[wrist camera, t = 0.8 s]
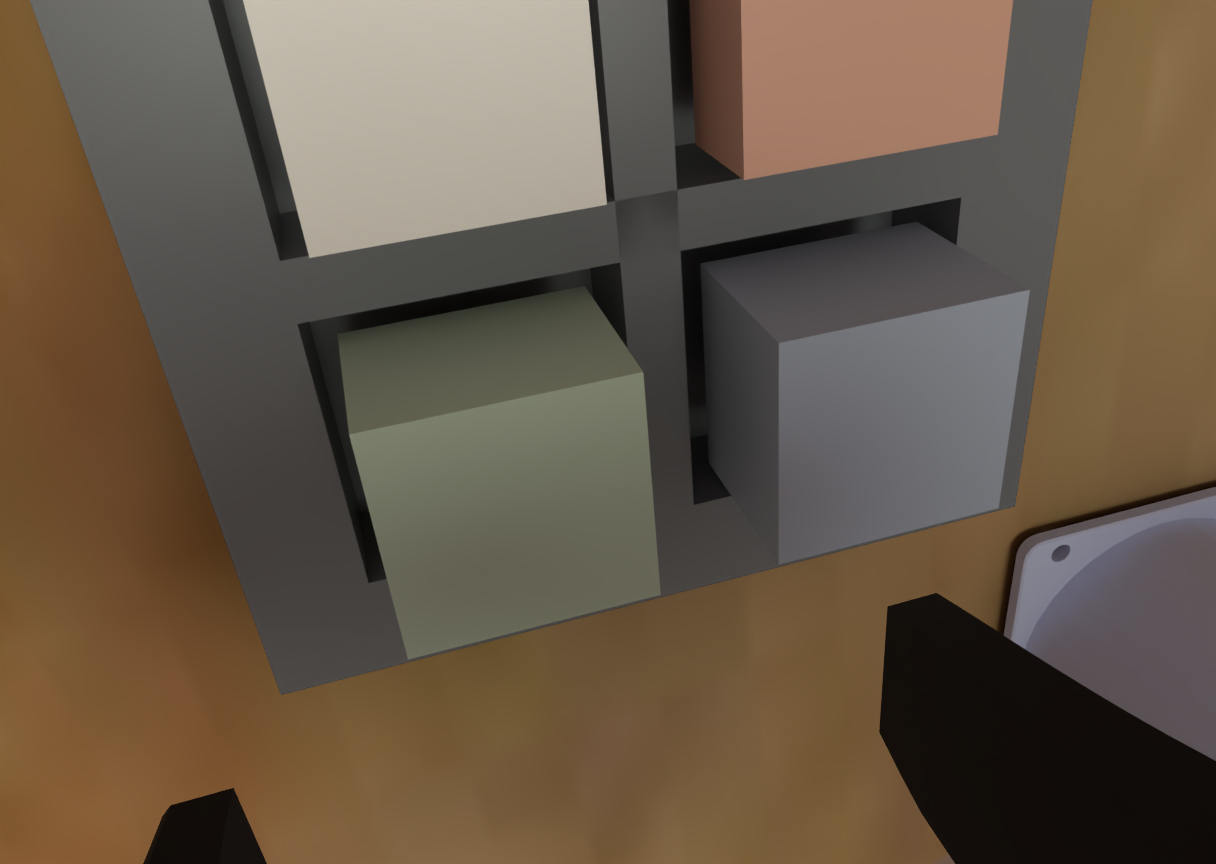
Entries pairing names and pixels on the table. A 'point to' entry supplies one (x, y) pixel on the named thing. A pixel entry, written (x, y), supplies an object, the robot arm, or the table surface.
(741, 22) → the key terracotta
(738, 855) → the table surface
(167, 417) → the table surface
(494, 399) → the key sage
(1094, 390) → the table surface
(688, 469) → the keypad bezel
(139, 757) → the table surface
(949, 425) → the key slate
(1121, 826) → the robot arm
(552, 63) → the key cream
